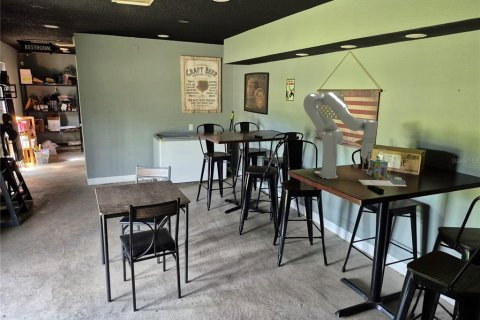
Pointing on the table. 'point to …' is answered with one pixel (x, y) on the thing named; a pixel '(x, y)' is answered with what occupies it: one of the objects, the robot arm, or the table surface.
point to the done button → (397, 179)
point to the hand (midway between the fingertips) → (364, 168)
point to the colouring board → (383, 182)
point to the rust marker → (363, 164)
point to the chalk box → (378, 168)
